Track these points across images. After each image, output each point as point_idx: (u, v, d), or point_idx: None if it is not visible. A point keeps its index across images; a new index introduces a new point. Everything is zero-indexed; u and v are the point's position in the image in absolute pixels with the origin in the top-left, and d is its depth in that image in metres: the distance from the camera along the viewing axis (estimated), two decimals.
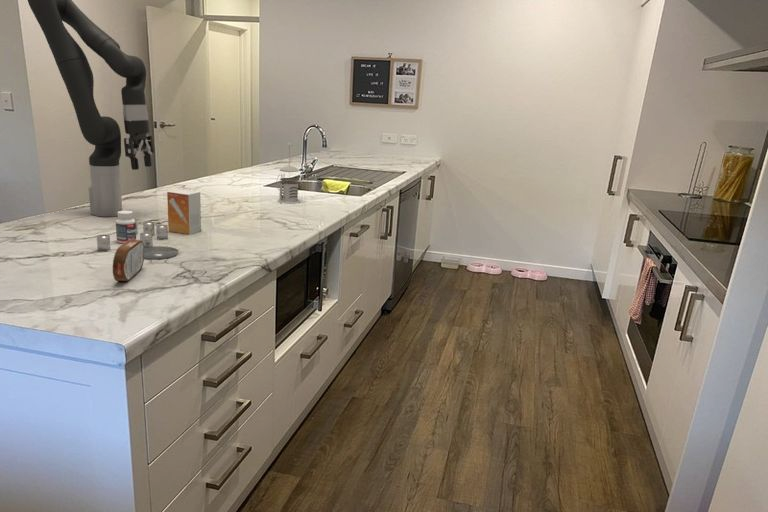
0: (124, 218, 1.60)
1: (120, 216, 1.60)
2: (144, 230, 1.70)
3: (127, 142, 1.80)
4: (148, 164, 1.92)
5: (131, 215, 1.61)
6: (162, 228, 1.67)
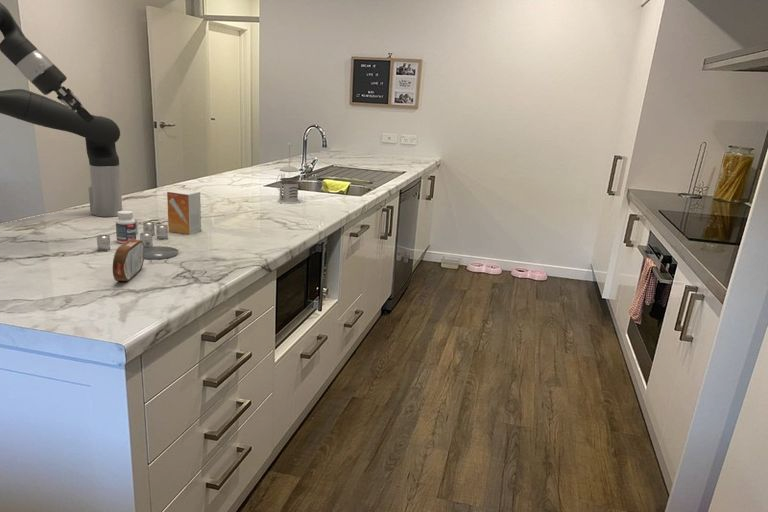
0: (124, 218, 1.60)
1: (120, 216, 1.60)
2: (144, 230, 1.70)
3: (63, 93, 1.44)
4: None
5: (131, 215, 1.61)
6: (162, 228, 1.67)
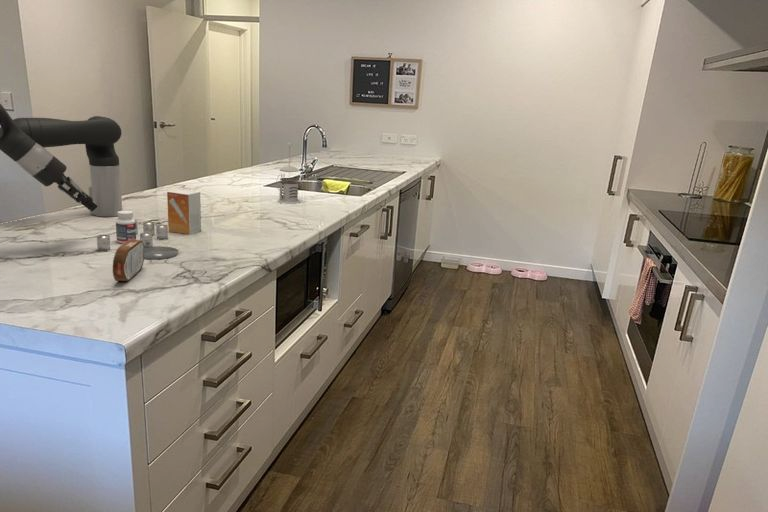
0: (124, 218, 1.60)
1: (120, 216, 1.60)
2: (144, 230, 1.70)
3: (67, 188, 1.45)
4: None
5: (131, 215, 1.61)
6: (162, 228, 1.67)
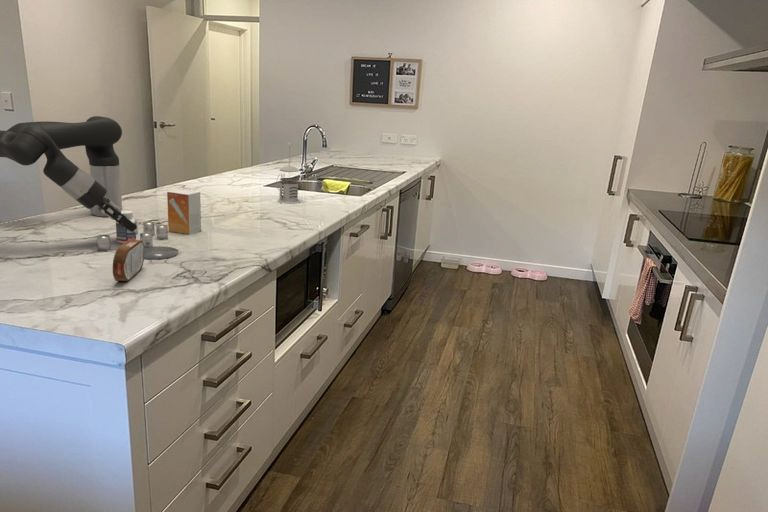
0: None
1: (120, 216, 1.60)
2: (144, 230, 1.70)
3: (111, 212, 1.53)
4: None
5: (131, 215, 1.61)
6: (162, 228, 1.67)
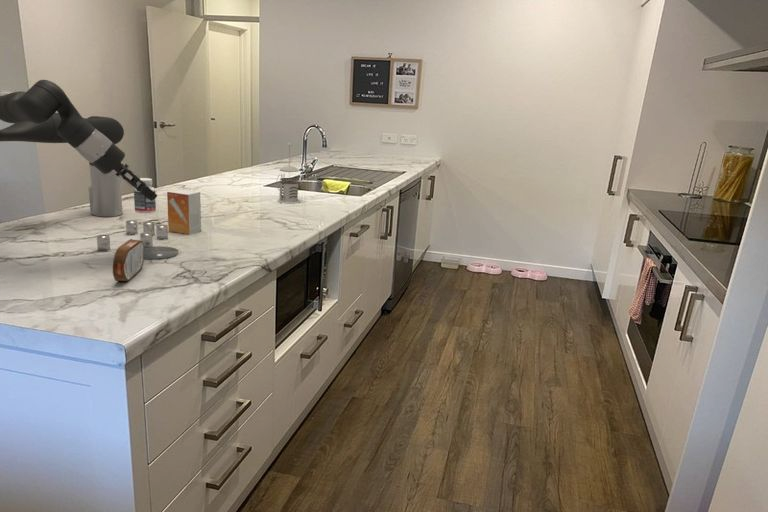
0: None
1: (139, 183, 1.47)
2: (144, 230, 1.70)
3: (130, 177, 1.40)
4: None
5: (150, 183, 1.48)
6: (162, 228, 1.67)
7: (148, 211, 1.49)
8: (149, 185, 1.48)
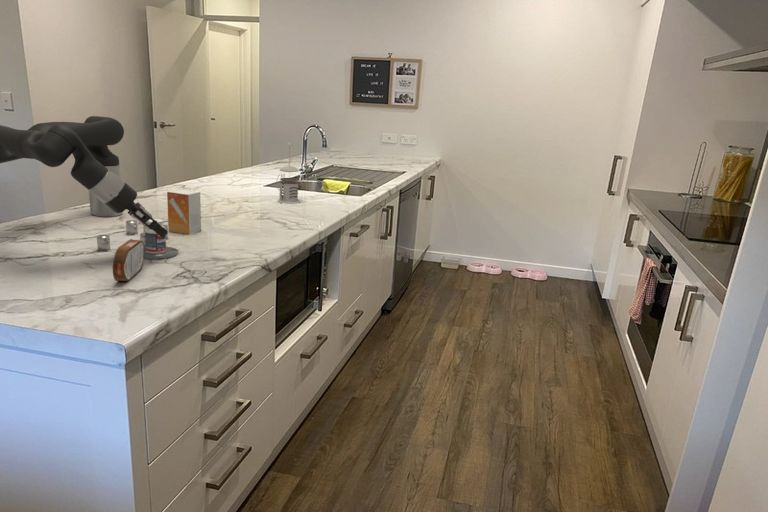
0: None
1: None
2: (144, 230, 1.70)
3: (140, 215, 1.42)
4: None
5: (161, 224, 1.51)
6: None
7: (159, 251, 1.52)
8: None
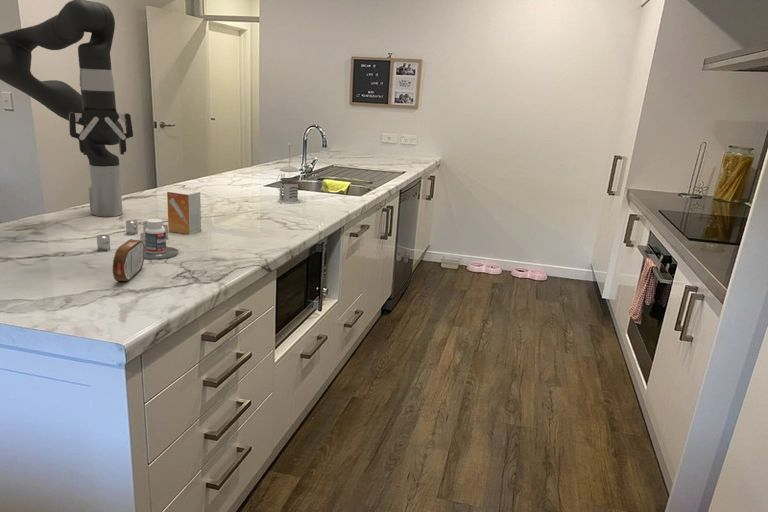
0: (154, 227, 1.50)
1: (150, 225, 1.50)
2: (144, 230, 1.70)
3: None
4: None
5: (161, 224, 1.52)
6: None
7: (159, 252, 1.52)
8: (160, 226, 1.51)
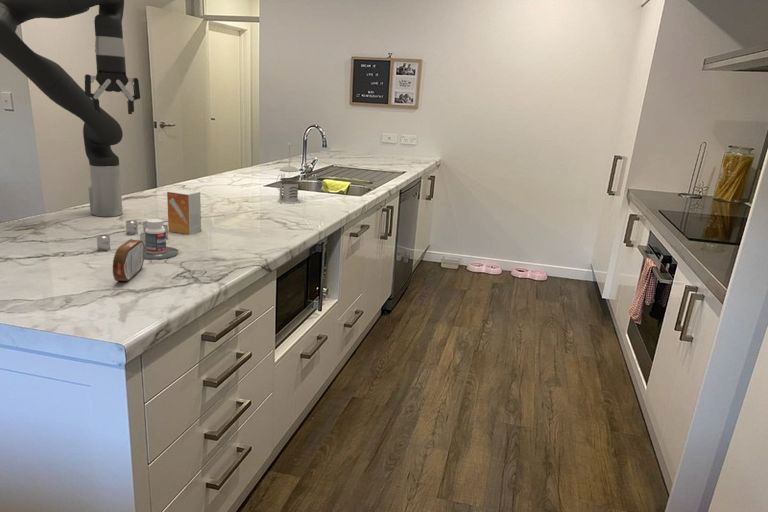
0: (154, 227, 1.50)
1: (150, 225, 1.50)
2: (144, 230, 1.70)
3: None
4: None
5: (161, 224, 1.52)
6: None
7: (159, 252, 1.52)
8: (160, 226, 1.51)
